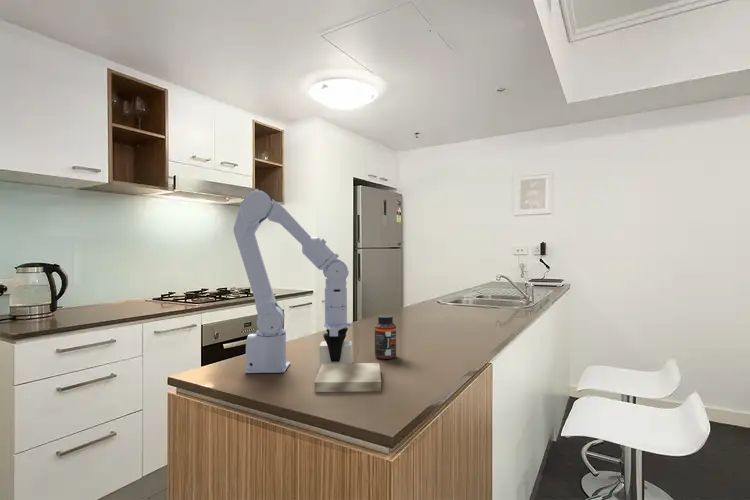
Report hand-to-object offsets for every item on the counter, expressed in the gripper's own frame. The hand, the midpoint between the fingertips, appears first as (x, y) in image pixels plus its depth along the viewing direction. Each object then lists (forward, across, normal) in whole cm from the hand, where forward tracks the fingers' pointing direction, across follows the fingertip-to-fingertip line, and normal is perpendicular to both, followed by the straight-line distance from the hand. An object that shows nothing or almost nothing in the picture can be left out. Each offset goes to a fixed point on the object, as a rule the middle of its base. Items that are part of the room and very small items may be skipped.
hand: (336, 358), depth 106 cm
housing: (+2, 0, 0) cm, 2 cm away
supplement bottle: (+2, +7, -13) cm, 15 cm away
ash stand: (+2, -13, -4) cm, 14 cm away
